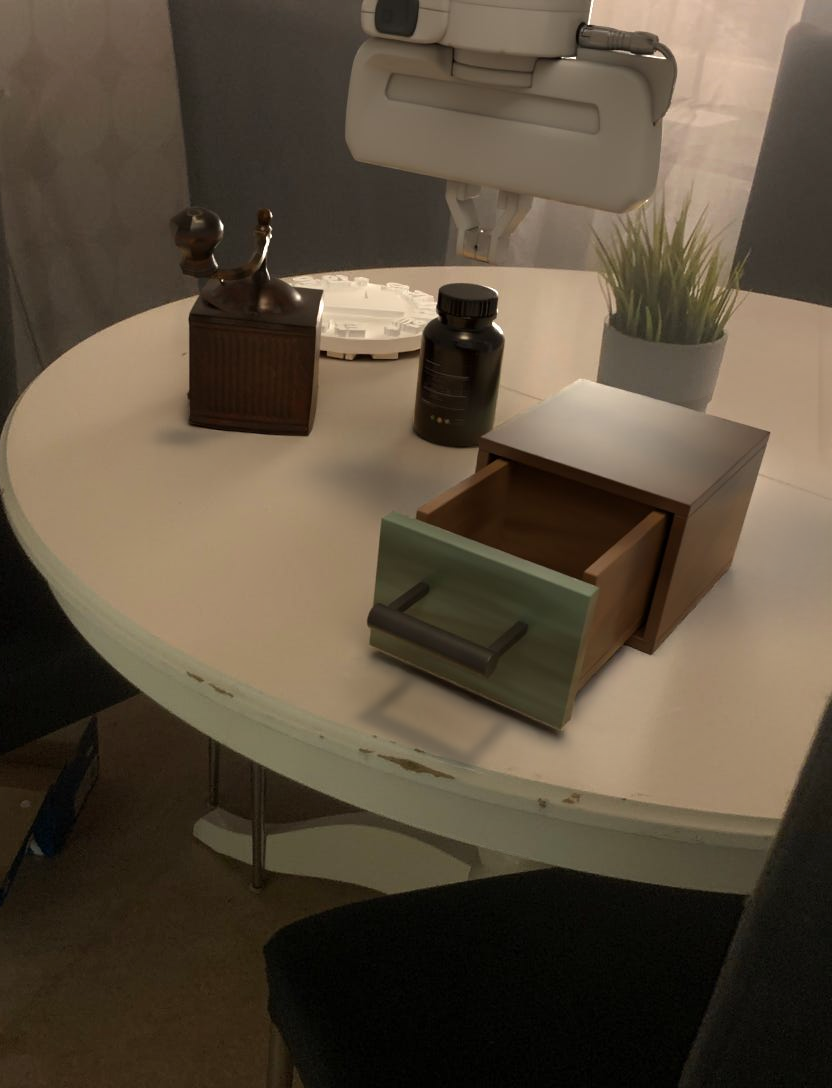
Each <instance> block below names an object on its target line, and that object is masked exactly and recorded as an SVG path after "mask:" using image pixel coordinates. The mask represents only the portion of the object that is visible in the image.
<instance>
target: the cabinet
mask: <svg viewBox="0 0 832 1088" xmlns="http://www.w3.org/2000/svg"><path fill="white" fill-rule="evenodd" d="M770 437H771V431H770V430H766V429H762V428H759V427H755V426H751V425H748V424H744V423H741V422H737V421H735V420H730V419H726V418H723V417H720V416H716V415H713V414H709V413H706V412H703V411H698V410H695V409H692V408H687V407H685V406H681V405H677V404H675V403H671V402H667V401H663V400H660V399H657V398H653V397H649V396H647V395H642V394H639V393H636V392H631V391H628V390H624V389H621V388H618V387H614V386H610V385H607V384H604V383H600V382H596V381H593V380H589V379H586V378H582V377H581V378H579V379H577V380H576V381H573V382H572V383H570V384H568V385H567V386H565V387H563V388H562V389H560V390H558V391H557V392H555V393H553V394H551V395H549V396H548V397H545V399H543V400H541V401H539V402H538V403H536V404H534V405H532V406H531V407H529V408H528V409H526V410H524V411H522V412H520V413H518V414H517V415H515V416H514V417H512V418H510V419H509V420H506V421H505V422H503V423H502V424H500V425H497V427H495V428H493V430H491V431H490V432H488V433H486V434H485V435H483V436H481V437H480V441H479V444H478V449H477V456H476V461H475V470H474V474H475V473H476V472H478V471H480V470H481V469H483V468H484V467H486V466H487V465H489V464H491V463H492V462H494V461H495V460H497V459H499V458H500V457H505V458H508V459H511V460H514V461H517V462H520V463H523V464H526V465H529V466H532V467H535V468H538V469H541V470H544V471H547V472H550V473H553V474H556V475H559V476H562V477H565V478H569V479H572V480H575V481H578V482H581V483H584V484H587V485H590V486H593V487H596V488H599V489H602V490H605V491H608V492H611V493H614V494H617V495H620V496H623V497H626V498H629V499H632V500H635V501H638V502H641V503H644V504H647V505H650V506H653V507H656V508H659V509H662V510H665V511H668V512H671V513H674V515H673V519H672V523H671V527H670V531H669V535H668V539H667V543H666V546H665V550H664V554H663V558H662V562H661V566H660V570H659V574H658V578H657V582H656V586H655V589H654V593H653V597H652V601H651V605H650V609H649V613H648V617H647V619H646V620H645V621H644V622H643V623H642V624H641V625H640V627H639V628H638V629H637V630H636V631H635V632H634V633H633V634H632V635H631V636H630V637H629V638H628V639H627V640H626V641H625V642H624V643H623V644H624V645H626V646H629V647H632V648H635V649H636V650H639V651H641V652H644V653H646V654H649V655H652V654H653V653H654V652H655V651H656V650H657V649H658V648H659V647H660V646H661V644H662V643H663V642H664V641H665V640H666V639H667V638H668V637H669V636H670V635H671V633H672V632H673V631H674V630H675V629H676V628H677V627H678V625H679V624H680V623H681V622H682V621H683V620H684V619H685V618H686V616H688V615H689V614H690V612H691V611H692V610H693V609H694V608H695V607H696V606H697V605H698V604H699V602H700V601H701V600H702V599H703V598H704V597H705V596H706V594H707V593H708V592H709V591H710V590H711V589H712V588H713V587H714V586H715V584H716V583H717V582H718V581H719V580H720V579H721V578H722V577H723V576H724V575H725V573H726V572H727V571H728V570H729V569H730V568H731V567H732V564H733V561H734V557H735V554H736V551H737V547H738V544H739V539H740V537H741V534H742V530H743V527H744V523H745V520H746V516H747V513H748V510H749V507H750V506H749V505H750V504H751V499H752V497H753V493H754V490H755V487H756V483H757V480H758V477H759V473H760V470H761V465H762V463H763V460H764V456H765V453H766V449H767V445H768V442H769V439H770Z"/></svg>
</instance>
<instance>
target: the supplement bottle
mask: <svg viewBox="0 0 832 1088" xmlns="http://www.w3.org/2000/svg"><path fill="white" fill-rule="evenodd" d="M436 302H437V305H436V313H437V314H438V317H437V318H435V319H433V320H431V321H430V322H429V323H428V324H427V325H426V326H425V328H424V329H423V332H422V337H421V346H420V349H419V358H418V369H417V380H416V389H415V390H416V391H415V399H414V410H413V427H414V430H415V432H417V434H418V435H419V436H420V437H421V438H423V439H424V440H427V441H429V442H431V443H434V444H436V445H437V444H438V445H442V446H448V447H471V446H476V445H479V441H480V437H481V436H483V435H485V434H486V433H488V432H490V431H491V430H493V429H494V427H495V426H494V425H495V419H496V412H497V407H498V398H499V389H500V383H501V375H502V369H503V362H504V354H505V347H506V338H505V334H504V332H503V330H502V329H501V327H500V326H499V325H497V324H496V323H495V322H494V321H495V320H496V319H497V318H498V312H499V310H498V306H499V305H498V304H499V293H498V291H497V290H496V289H493V288H491V287H489V286H486V285H482V284H477V283H469V282H453V283H447V284H443V285H441V286H440V287H439V288H438V292H437V301H436Z"/></svg>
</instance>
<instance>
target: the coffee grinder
mask: <svg viewBox="0 0 832 1088" xmlns="http://www.w3.org/2000/svg"><path fill="white" fill-rule="evenodd" d="M255 219H256V225H255V226H254V228H253V238H254V246H253V249H252V253H251V256H250V258H249V260H248V261H247V263H246V264H244V265H242V266H239V267H237V268H219V264H218V262H217V260H216V259H215V255H214V252H215V249H216V247H217V246H218V245H219V244H220V243H221V242H222V240H223V237H224V224H223V222H222V220H221V218H220V217H219V215H218V213H217V212H214V211H213V210H211V209H207V208H205V207H203V206H197V205H194V206H189V207H186V208H184V209H182V210H180V211H179V212H177V213H176V214H175V215H174V216H172V218H170V220H169V224H168V228H169V231H170V235H171V237H172V239H173V242H174V244H175V246H176V247H177V248H178V249H179V250H180V251H181V254H182V256H181V261H180V263H179V268H180V270H181V272H182V275H184V276H186V277H190V278H194V279H202V278H206V279H208V281H207V282H206V283H205V285H204V286H203V287H202V288H201V290H200V293H199V294H198V296H197V297H196V300H195V302H194V303H193V305H192V307H191V309H190V311H189V313H188V320H187V321H188V391H187V393H186V395H187V399H188V401H189V411H188V419H187V420H188V423H189V424H192V425H195V426H201V427H206V428H212V429H217V430H226V431H236V432H245V433H246V432H247V433H258V434H268V435H287V436H309V434H310V432H312V430H313V427H314V424H315V423H314V422H315V418H316V413H317V412H316V411H317V403H318V392H319V373H320V371H319V370H320V354H321V350H320V341H321V327H322V312H323V305H324V290H321V289H312V288H302V287H293V286H291V285H289V284H288V283H289V282H288V283H287V282H286V281H284V280H282V279H280V278H278V277H276V276H273V275H270V274H269V271H268V247H269V244H270V241H271V238H272V237H273V236H272V227H271V226H270V225H271V223H272V220H273V215H272V212H271V210H270V209H269V208H267V207H259V208H258V209H257V211H256V213H255Z"/></svg>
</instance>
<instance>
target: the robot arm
mask: <svg viewBox="0 0 832 1088" xmlns="http://www.w3.org/2000/svg"><path fill="white" fill-rule="evenodd" d="M593 3H594V0H363V1H362V4H361V8H360V9H361V10H360V11H361V12H360V24H361V25H360V26H361V28H362V30H363V32H364V33H365V34H367V35H369V36H371V37H369V38H368V39H367V40H365V41H363V43H362V44H361V45H360V46H359V48H358V50H357V52H356V54H355V56H354V59H353V62H352V67H351V72H350V76H349V77H350V78H349V84H348V93H347V100H346V101H347V103H346V111H345V124H344V125H345V126H344V139H345V143H346V145H347V148H348V150H349V153H350V154H351V156H352V158H353V159H354V160H355V161H357V162H360V163H366V164H370V165H375V166H380V167H385V168H390V169H395V170H400V171H405V172H409V173H414V174H419V175H425V176H430V177H434V178H439V179H444V180H446V186H445V187H446V188H445V197H444V198H445V201H446V204H447V206H448V209H449V212H450V214H451V217H452V219H453V222H454V226H455V228H456V229H457V234H456V235H457V236H456V244H455V245H456V246H455V255H456V256H457V257H460V258H465V259H470V260H473V261H478V262H482V263H485V264H490V265H493V266H499V265H501V264H503V263H505V262H506V261H507V258H508V256H509V249H510V244H511V243H510V242H511V236H512V234H514V232H515V231H516V230H517V228H518V227H519V225H520V224H521V223H522V221H524V219H525V218H526V216H527V215H528V213H529V212H530V211H531V210H532V207H533V201H534V198H537V199H542V200H546V201H552V202H557V203H560V204H561V203H562V204H566V205H572V206H576V207H582V208H586V209H591V210H596V211H600V212H606V213H611V214H616V215H623V214H626V213H629V212H633V211H636V210H637V209H639V208H641V207H642V206H643V205H644V204H646V202H648V201H649V200H650V199H651V198H652V196H653V195H654V193H655V192H656V187H657V183H658V178H659V172H660V171H659V170H660V163H661V155H662V148H663V147H662V146H663V134H664V118H665V116H666V115H667V113H668V112H669V110H670V108H671V105H672V102H673V98H674V94H675V93H674V92H675V88H676V83H677V78H678V64H677V63H678V62H677V61H676V57H675V55H674V54H673V52H672V50H671V49H670V48H669V47H668V46H667V45H666V44H664V43H662V42H660V38H659V35H657V34H654V33H652V32H649V31H641V30H636V31H626V30H621V29H617V28H614V27H609V26H602V25H595V24H590V22H591V21H590V20H591V14H592V8H593ZM657 52H658V53H660V54H661V55H663V57H661V56H654V55H655V54H656V53H657ZM482 187H483V188H488V189H494V190H498V195H497V205H496V207H497V208H498V210H504V212H503V214H502V215H501V216H500V218H499V219H498V221H497V223H496V224H495V226H494V227H493V228H489V227H486V226H482V225H481V223H480V218H479V215H478V213H477V209H476V205H475V202H474V198H477V197H480V196H481V192H482Z"/></svg>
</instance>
